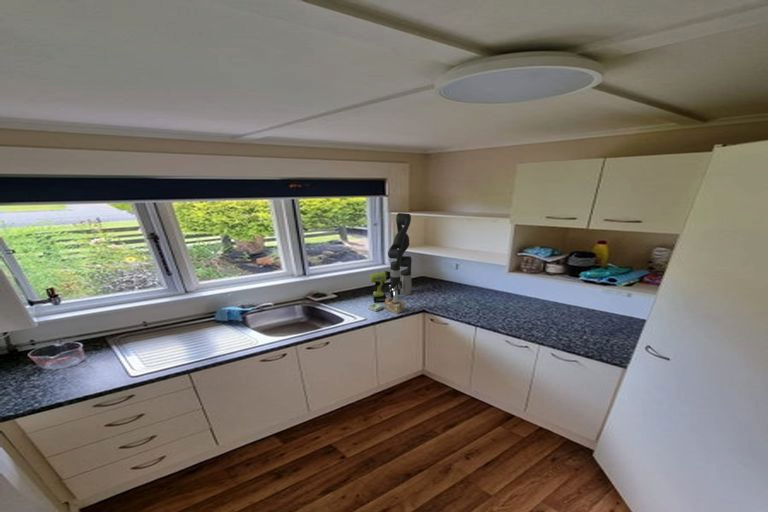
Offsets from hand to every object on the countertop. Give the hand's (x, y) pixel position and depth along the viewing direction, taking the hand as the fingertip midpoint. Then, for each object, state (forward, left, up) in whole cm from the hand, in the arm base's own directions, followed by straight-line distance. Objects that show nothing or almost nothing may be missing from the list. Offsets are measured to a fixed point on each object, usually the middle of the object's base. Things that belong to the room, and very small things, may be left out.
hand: (395, 296), depth 232 cm
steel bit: (0, 0, -12) cm, 12 cm away
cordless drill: (-11, -19, -12) cm, 25 cm away
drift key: (0, -7, -11) cm, 14 cm away
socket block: (0, 0, -11) cm, 11 cm away
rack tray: (+7, -14, -11) cm, 19 cm away
